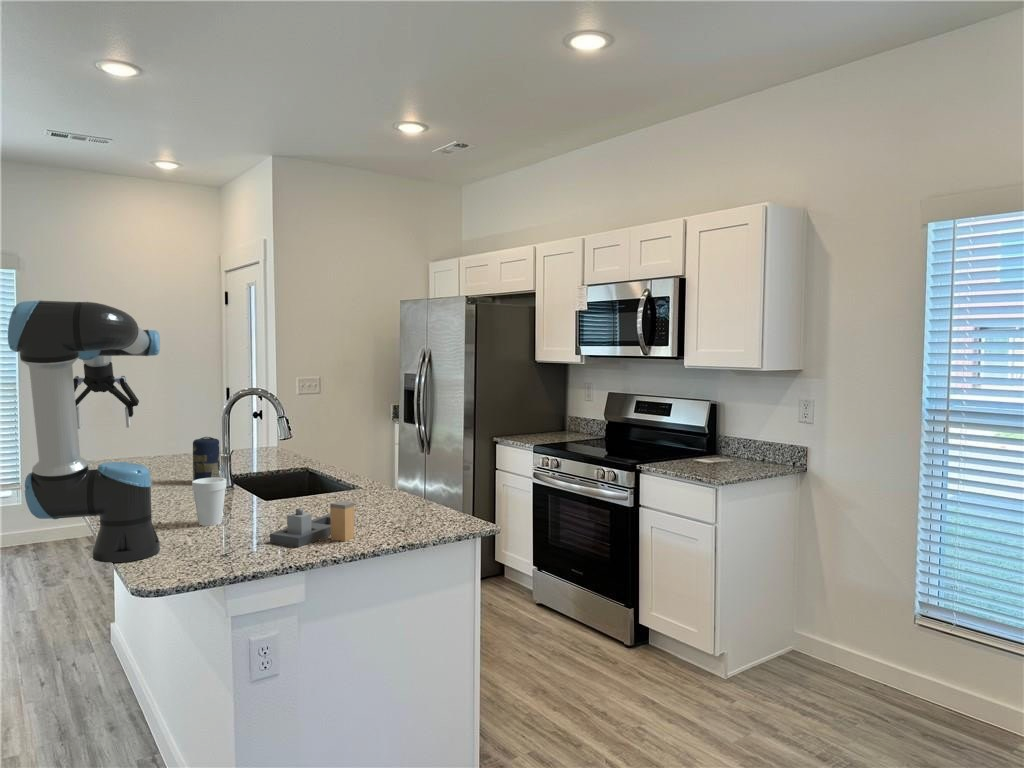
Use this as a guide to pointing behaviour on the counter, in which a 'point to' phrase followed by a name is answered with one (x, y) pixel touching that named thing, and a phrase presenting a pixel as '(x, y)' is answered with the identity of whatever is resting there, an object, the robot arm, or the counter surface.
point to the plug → (342, 520)
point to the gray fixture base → (302, 529)
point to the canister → (206, 458)
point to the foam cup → (209, 500)
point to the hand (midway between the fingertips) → (104, 426)
